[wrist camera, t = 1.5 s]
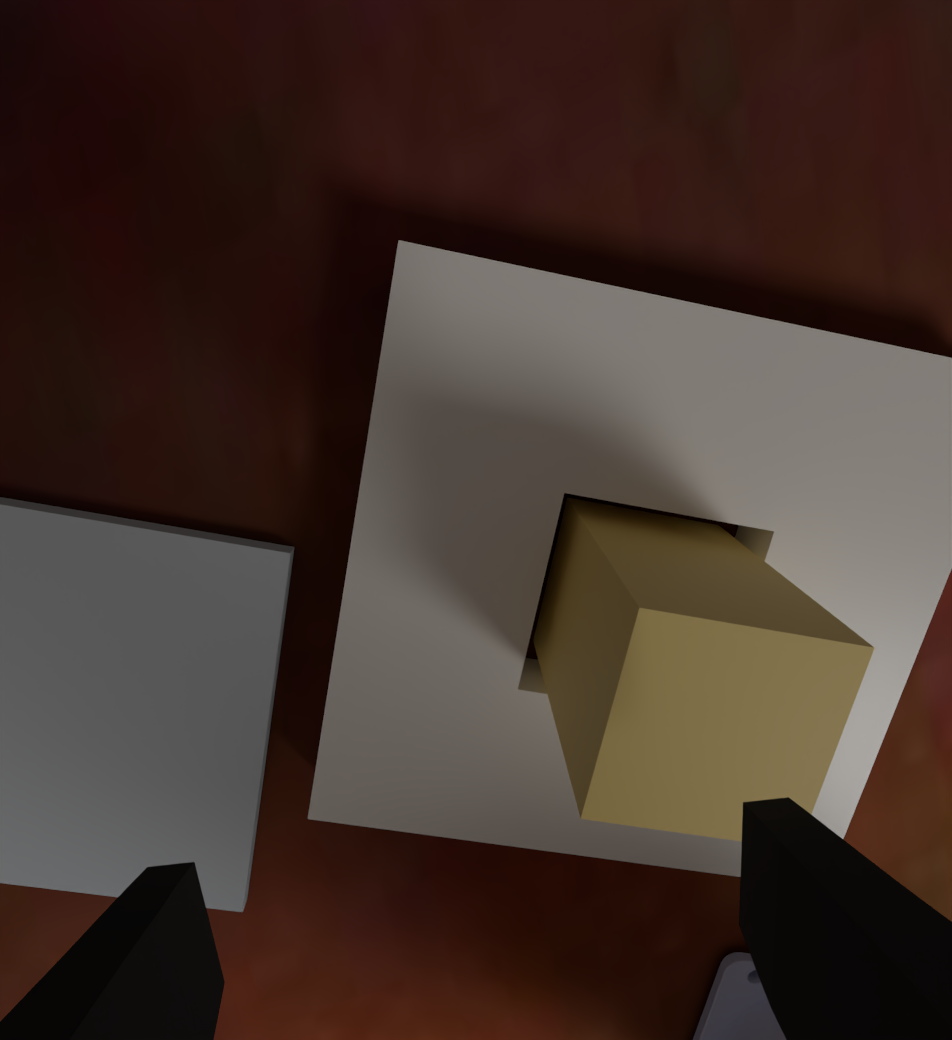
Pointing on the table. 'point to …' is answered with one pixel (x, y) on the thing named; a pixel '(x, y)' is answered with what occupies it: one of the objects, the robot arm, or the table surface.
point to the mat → (133, 699)
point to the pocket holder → (617, 478)
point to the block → (687, 673)
